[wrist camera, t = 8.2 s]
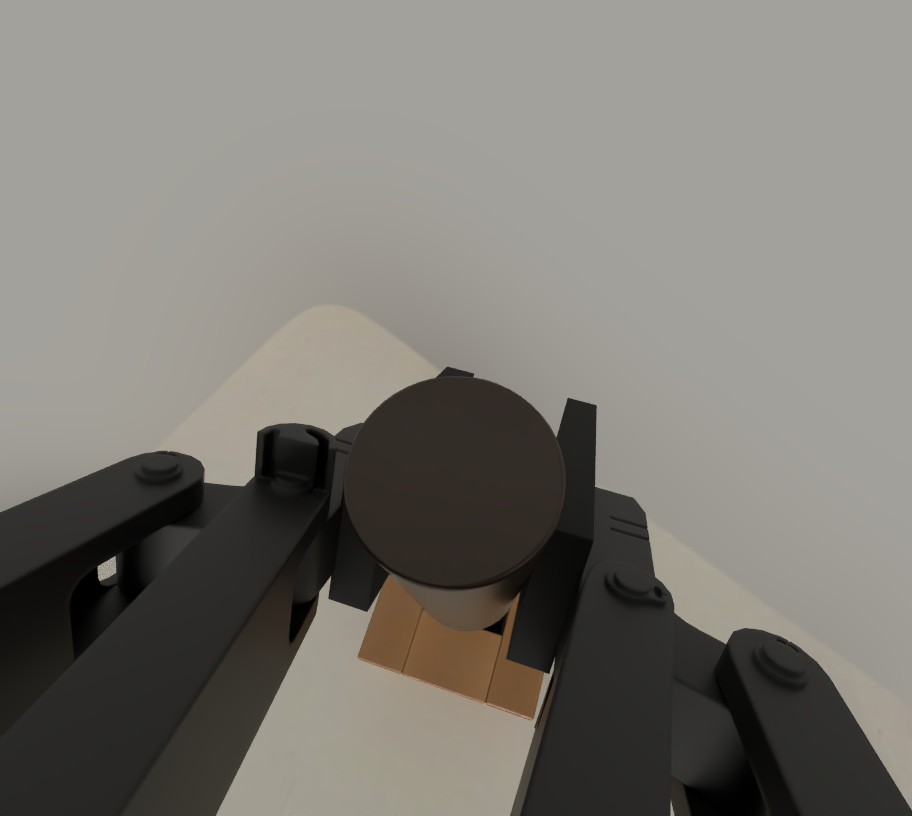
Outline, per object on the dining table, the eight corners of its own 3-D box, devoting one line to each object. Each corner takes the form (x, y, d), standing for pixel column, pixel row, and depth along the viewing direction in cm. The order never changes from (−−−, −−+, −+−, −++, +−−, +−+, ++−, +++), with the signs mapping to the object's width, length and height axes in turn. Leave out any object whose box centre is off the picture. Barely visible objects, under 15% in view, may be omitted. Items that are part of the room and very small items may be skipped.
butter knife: (513, 582, 21) (589, 403, 7) (494, 653, 20) (536, 623, 6) (448, 561, 22) (388, 351, 7) (427, 629, 21) (306, 548, 6)
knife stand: (554, 575, 27) (570, 557, 22) (522, 710, 24) (533, 721, 20) (420, 533, 28) (409, 508, 23) (377, 659, 25) (356, 658, 21)
